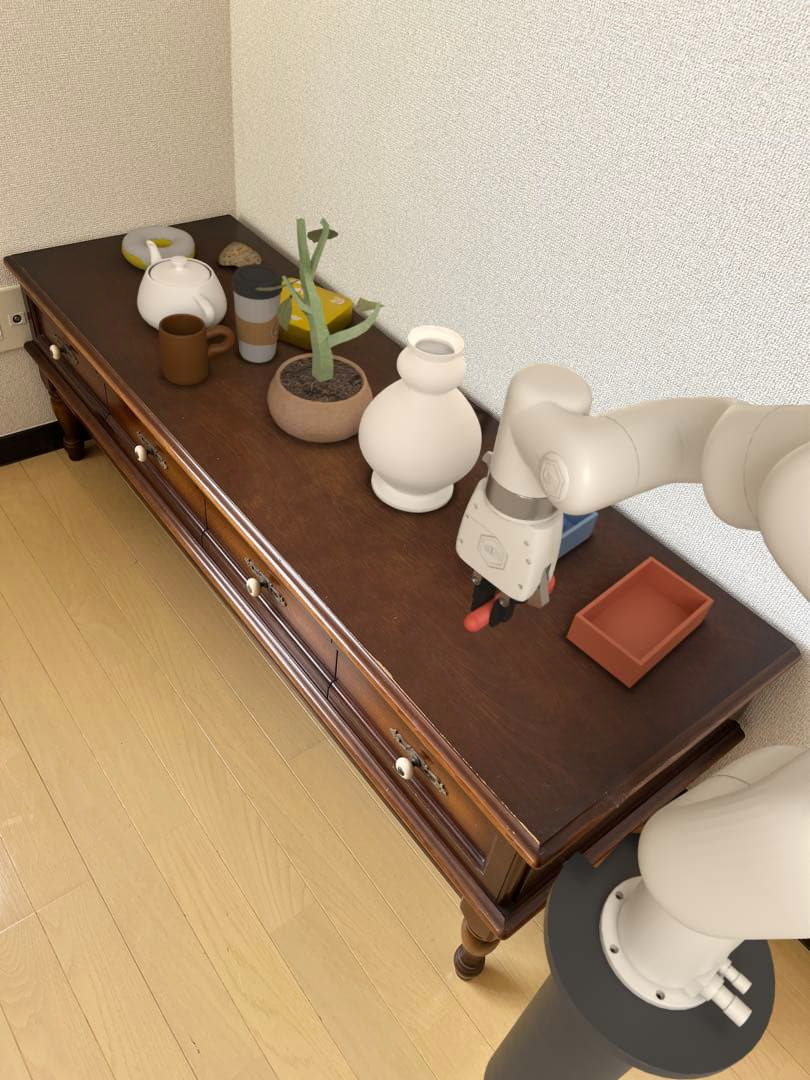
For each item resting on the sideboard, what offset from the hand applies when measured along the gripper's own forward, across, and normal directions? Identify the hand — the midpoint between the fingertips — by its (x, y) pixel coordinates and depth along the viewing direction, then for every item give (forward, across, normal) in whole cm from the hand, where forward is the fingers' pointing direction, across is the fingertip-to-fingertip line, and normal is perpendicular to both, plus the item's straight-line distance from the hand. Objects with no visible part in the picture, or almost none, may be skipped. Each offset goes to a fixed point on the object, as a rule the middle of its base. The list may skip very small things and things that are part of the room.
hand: (490, 612), depth 92 cm
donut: (+10, -111, +25) cm, 114 cm away
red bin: (+12, +8, +23) cm, 27 cm away
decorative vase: (+12, -31, +19) cm, 38 cm away
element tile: (+11, -77, +34) cm, 85 cm away
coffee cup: (+11, -73, +21) cm, 76 cm away
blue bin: (+12, -12, +24) cm, 29 cm away
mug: (+11, -73, +9) cm, 74 cm away
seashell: (+10, -102, +38) cm, 109 cm away
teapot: (+11, -89, +16) cm, 91 cm away
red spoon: (+1, 0, +3) cm, 3 cm away
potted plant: (+11, -55, +19) cm, 59 cm away
